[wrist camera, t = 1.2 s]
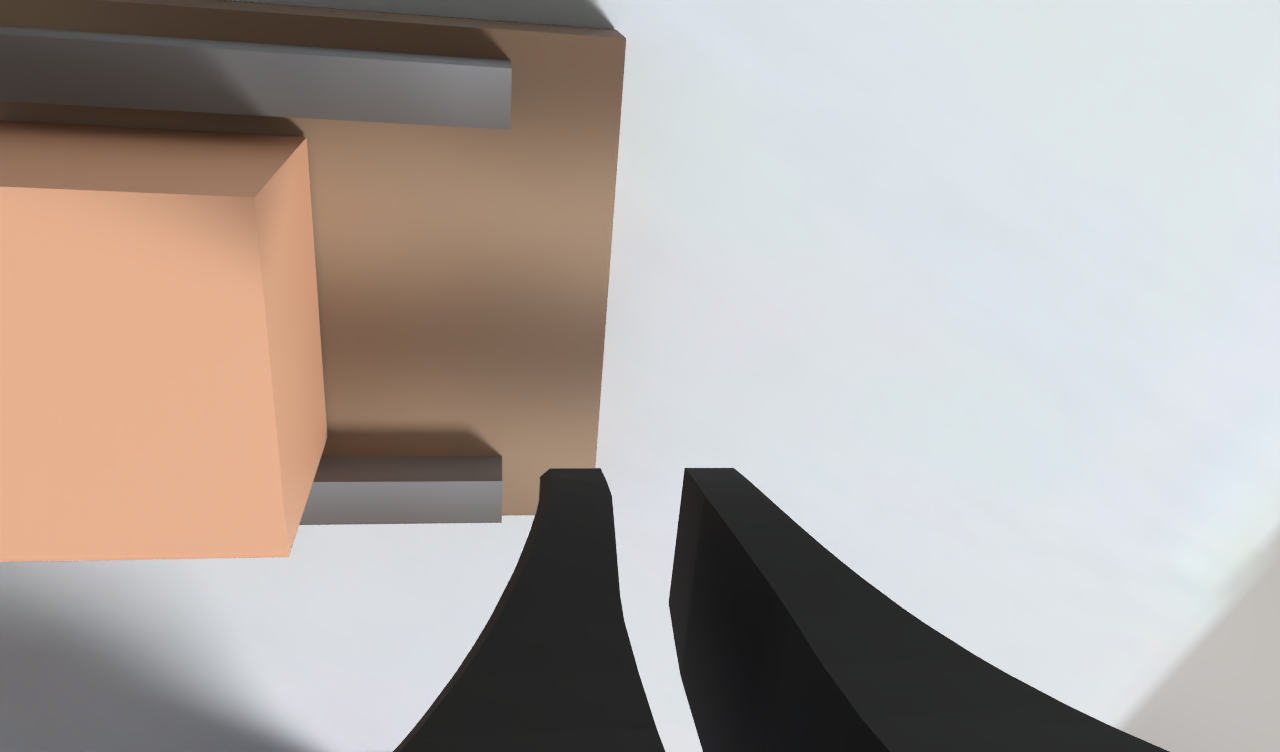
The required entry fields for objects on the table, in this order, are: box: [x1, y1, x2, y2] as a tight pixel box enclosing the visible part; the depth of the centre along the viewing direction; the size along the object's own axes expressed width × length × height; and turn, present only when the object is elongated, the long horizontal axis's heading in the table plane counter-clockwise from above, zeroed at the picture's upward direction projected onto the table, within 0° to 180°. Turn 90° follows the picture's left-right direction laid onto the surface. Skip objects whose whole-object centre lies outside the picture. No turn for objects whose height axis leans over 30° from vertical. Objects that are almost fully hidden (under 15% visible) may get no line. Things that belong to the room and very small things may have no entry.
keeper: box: [0, 121, 327, 562], centre depth 15 cm, size 6×5×4 cm
